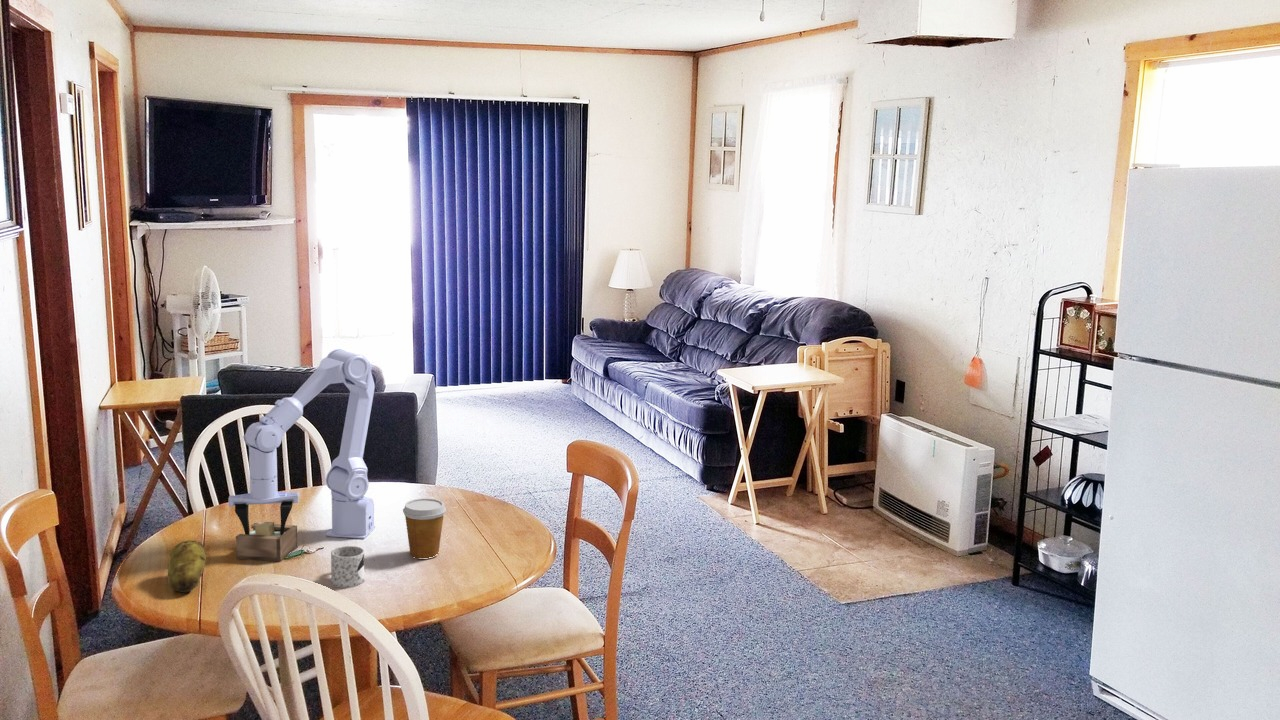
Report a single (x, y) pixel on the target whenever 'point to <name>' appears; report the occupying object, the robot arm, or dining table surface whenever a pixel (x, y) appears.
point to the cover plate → (265, 529)
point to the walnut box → (267, 544)
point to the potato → (186, 565)
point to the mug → (347, 566)
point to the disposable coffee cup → (424, 526)
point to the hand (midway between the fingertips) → (265, 534)
